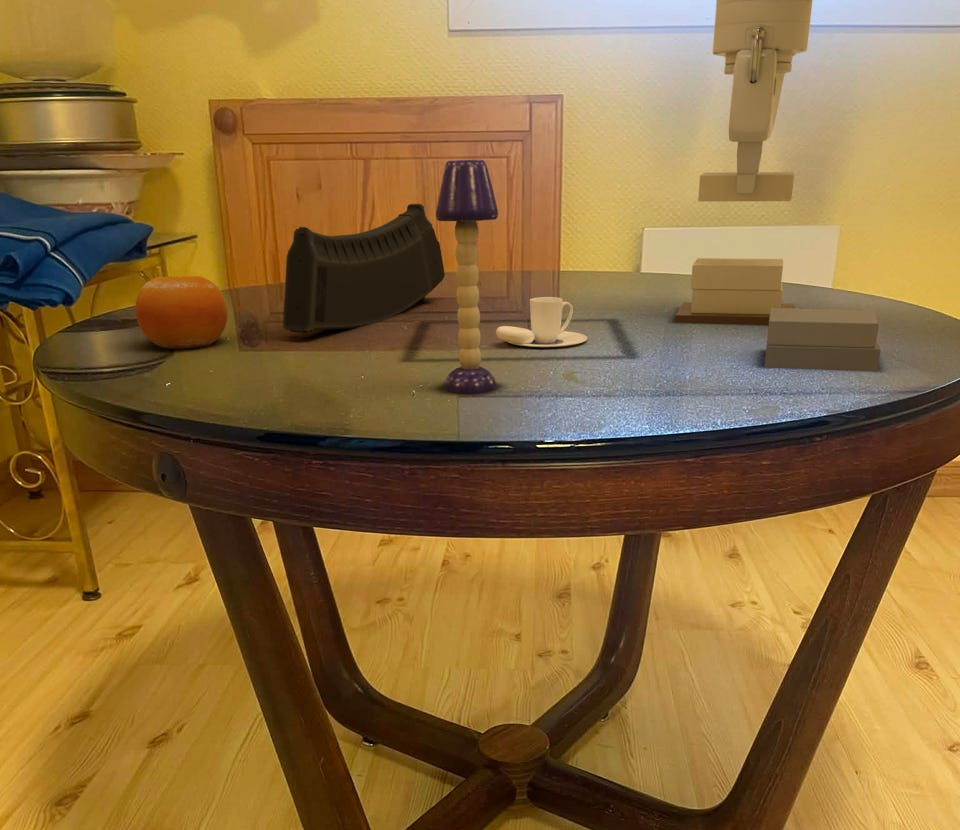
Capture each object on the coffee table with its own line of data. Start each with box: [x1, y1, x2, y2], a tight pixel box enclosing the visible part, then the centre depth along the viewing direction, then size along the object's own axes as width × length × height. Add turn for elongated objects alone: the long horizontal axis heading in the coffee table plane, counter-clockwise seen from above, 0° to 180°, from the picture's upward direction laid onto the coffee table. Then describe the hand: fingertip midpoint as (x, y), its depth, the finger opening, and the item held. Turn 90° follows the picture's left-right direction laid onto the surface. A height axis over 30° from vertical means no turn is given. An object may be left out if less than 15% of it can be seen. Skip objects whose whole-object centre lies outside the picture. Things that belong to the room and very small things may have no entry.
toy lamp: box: [435, 159, 499, 395], centre depth 77 cm, size 5×5×17 cm
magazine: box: [282, 203, 446, 334], centre depth 109 cm, size 17×3×30 cm
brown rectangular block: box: [764, 307, 881, 372], centre depth 86 cm, size 9×7×4 cm
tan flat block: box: [697, 171, 795, 202], centre depth 102 cm, size 9×6×2 cm, turn 75°
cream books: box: [674, 257, 795, 326], centre depth 107 cm, size 12×9×6 cm
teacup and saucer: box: [495, 296, 588, 348], centre depth 97 cm, size 9×8×4 cm
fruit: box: [134, 275, 228, 350], centre depth 99 cm, size 8×8×8 cm
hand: (746, 191), depth 102 cm, fingers closed on tan flat block, 6 cm apart
